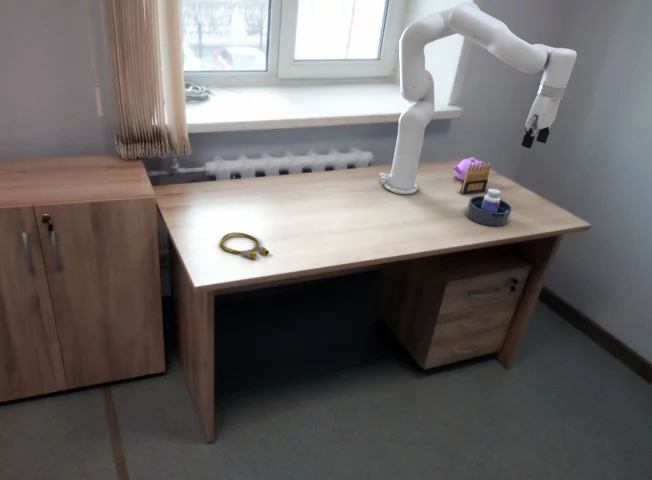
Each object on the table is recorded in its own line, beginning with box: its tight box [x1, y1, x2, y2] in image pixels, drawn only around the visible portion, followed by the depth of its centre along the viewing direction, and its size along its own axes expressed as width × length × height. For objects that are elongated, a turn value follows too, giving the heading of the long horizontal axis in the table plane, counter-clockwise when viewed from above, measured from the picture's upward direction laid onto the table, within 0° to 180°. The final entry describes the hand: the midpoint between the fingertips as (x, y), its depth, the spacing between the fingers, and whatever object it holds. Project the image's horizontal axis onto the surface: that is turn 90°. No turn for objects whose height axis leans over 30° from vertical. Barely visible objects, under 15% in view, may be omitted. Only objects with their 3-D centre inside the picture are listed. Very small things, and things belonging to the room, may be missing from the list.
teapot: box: [452, 157, 486, 182], centre depth 212 cm, size 10×15×9 cm
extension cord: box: [220, 232, 270, 260], centre depth 158 cm, size 12×16×2 cm
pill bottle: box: [481, 188, 501, 213], centre depth 183 cm, size 5×5×10 cm
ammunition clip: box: [459, 161, 492, 195], centre depth 202 cm, size 11×2×12 cm, turn 111°
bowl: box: [465, 195, 513, 227], centre depth 185 cm, size 14×14×5 cm
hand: (533, 144), depth 175 cm, fingers open, 9 cm apart
